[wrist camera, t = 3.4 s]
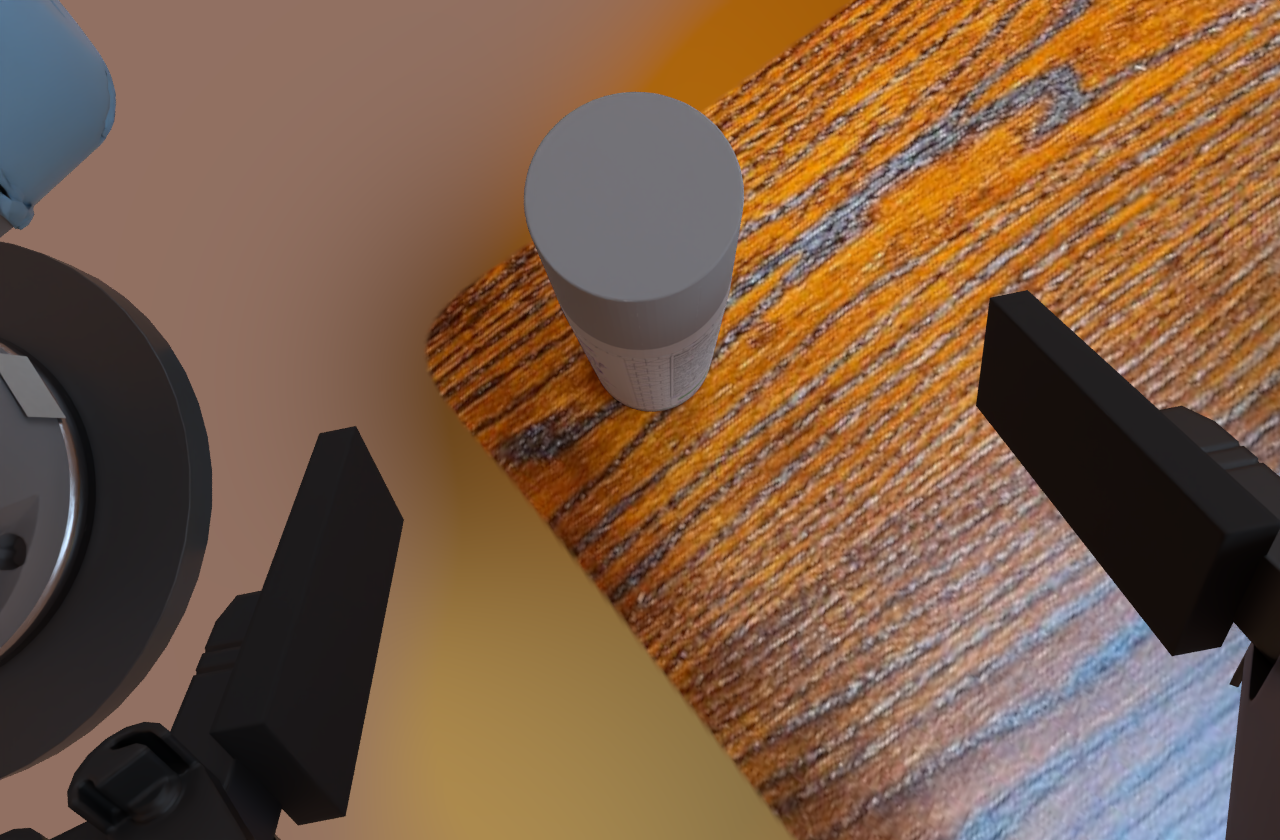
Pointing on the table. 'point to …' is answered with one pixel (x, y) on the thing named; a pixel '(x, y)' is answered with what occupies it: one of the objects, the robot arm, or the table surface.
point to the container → (638, 239)
